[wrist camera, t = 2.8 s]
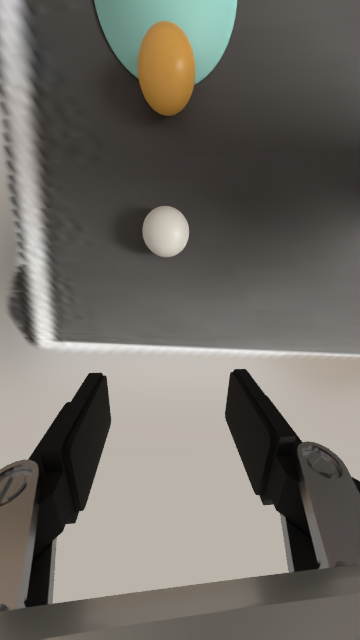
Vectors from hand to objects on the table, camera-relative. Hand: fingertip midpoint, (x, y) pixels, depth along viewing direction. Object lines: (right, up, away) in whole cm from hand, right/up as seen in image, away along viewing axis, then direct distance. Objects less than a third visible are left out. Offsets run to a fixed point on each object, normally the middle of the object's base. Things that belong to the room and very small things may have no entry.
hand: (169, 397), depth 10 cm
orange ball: (-1, +28, +9) cm, 29 cm away
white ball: (-1, +14, +13) cm, 19 cm away
